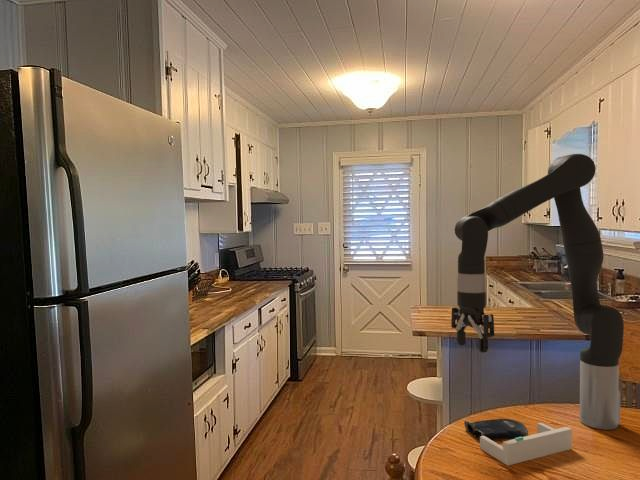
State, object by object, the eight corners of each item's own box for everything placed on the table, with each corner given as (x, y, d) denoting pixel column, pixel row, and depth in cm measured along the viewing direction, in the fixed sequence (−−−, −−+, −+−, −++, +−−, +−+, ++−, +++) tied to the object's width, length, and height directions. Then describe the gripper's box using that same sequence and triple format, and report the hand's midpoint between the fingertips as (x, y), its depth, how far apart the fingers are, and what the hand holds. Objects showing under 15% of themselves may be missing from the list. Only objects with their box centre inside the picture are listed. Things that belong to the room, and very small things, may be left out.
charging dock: (541, 433, 126) (541, 413, 126) (571, 448, 118) (571, 427, 117) (479, 448, 118) (479, 426, 118) (507, 465, 110) (507, 442, 110)
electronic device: (484, 451, 120) (535, 437, 123) (480, 429, 120) (531, 415, 124) (466, 440, 129) (514, 427, 132) (462, 420, 130) (510, 407, 133)
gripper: (501, 291, 125) (502, 352, 125) (464, 285, 138) (465, 341, 138) (479, 294, 122) (479, 356, 122) (443, 287, 135) (444, 344, 135)
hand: (472, 348), depth 130 cm, fingers open, 8 cm apart
